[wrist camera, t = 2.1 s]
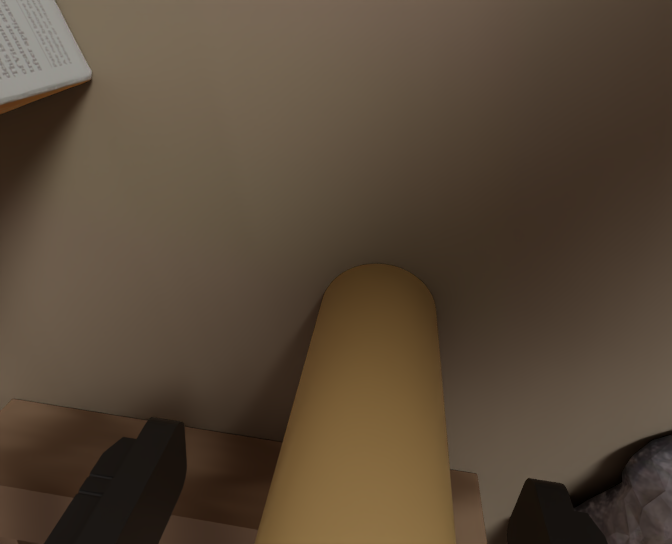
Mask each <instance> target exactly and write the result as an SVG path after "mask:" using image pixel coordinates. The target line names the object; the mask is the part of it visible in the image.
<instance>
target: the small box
mask: <svg viewBox="0 0 672 544" xmlns="http://www.w3.org/2000/svg"><path fill="white" fill-rule="evenodd" d="M91 75H92V71H91V69H90V68H89V66H88V64H87V62H86V60H85V58H84V56H83V54H82V52H81V50H80V48H79V47H78V45H77V43H76V41H75V39H74V37H73V35H72V33H71V31H70V29H69V27H68V25H67V23H66V21H65V19H64V17H63V15H62V13H61V11H60V9H59V8H58V6H57V4H56V2H55V0H0V114H3V113H5V112H8V111H11V110H13V109H16V108H18V107H21V106H23V105H26V104H28V103H31V102H34V101H36V100H39V99H42V98H44V97H47V96H50V95H52V94H55V93H58V92H61V91H63V90H66V89H69V88H71V87H74V86H77V85H80V84H83V83H85V82H87V81H89V80H91V78H92V77H91Z"/></svg>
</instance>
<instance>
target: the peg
mask: <svg viewBox="0 0 672 544" xmlns="http://www.w3.org/2000/svg"><path fill="white" fill-rule="evenodd" d="M254 544H456V536H455V524H454V513H453V501H452V489H451V478H450V466H449V455H448V443H447V431H446V420H445V408H444V396H443V385H442V373H441V362H440V350H439V338H438V327H437V315H436V307H435V302H434V299H433V297H432V295H431V293H430V291H429V290H428V288H427V287H426V285H425V284H424V283H423V282H422V281H421V280H420V279H418V278H417V277H416V276H415V275H413V274H412V273H410V272H408V271H406V270H404V269H402V268H399V267H396V266H392V265H387V264H365V265H360V266H357V267H354V268H351V269H349V270H347V271H345V272H343V273H342V274H340V275H339V276H338V277H336V278H335V279H334V280H333V281H332V282H331V284H330V285H329V286H328V288H327V289H326V291H325V293H324V296H323V299H322V302H321V306H320V309H319V313H318V317H317V320H316V324H315V327H314V331H313V335H312V338H311V342H310V345H309V349H308V353H307V356H306V360H305V363H304V367H303V371H302V374H301V378H300V381H299V385H298V389H297V392H296V396H295V399H294V403H293V407H292V410H291V414H290V417H289V421H288V425H287V428H286V432H285V435H284V439H283V443H282V446H281V450H280V453H279V457H278V461H277V464H276V468H275V471H274V475H273V478H272V482H271V486H270V489H269V493H268V496H267V500H266V504H265V507H264V511H263V514H262V518H261V522H260V525H259V529H258V532H257V536H256V540H255V543H254Z"/></svg>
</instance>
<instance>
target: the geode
mask: <svg viewBox="0 0 672 544" xmlns="http://www.w3.org/2000/svg"><path fill="white" fill-rule="evenodd" d="M573 509H574V511H578V512H584V513H588V514H589V516H590V517H591V518H592V520H593V521H594V522H595V524H596V525H597V526H598V528H599V529H600V530H601V532H602V533H603V534H604V535H605V537H606V540H607V543H608V544H672V435H669V436H666V437H662V438H659V439H655V440H652V441H651V442H649V443H648V444H647V445H645V446H644V447H643V448H642V449H640V450H639V451H638V452H636V453H635V454H634V455H633V456H632V457H631V459H630V460H629V462H628V463H627V465H626V466H625V468H624V470H623V471H622V483H620V484H618V485H616V486H614V487H612V488H611V489H609V490H607V491H605V492H603V493H601V494H599V495H597V496H595V497H593V498H591V499H589V500H587V501H585V502H584V503H582V504H580V505H579V506H577V507H575V508H573Z"/></svg>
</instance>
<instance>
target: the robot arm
mask: <svg viewBox="0 0 672 544" xmlns="http://www.w3.org/2000/svg"><path fill="white" fill-rule="evenodd" d="M186 472H187V458H186V441H185V427H184V423H183V422H180V421H173V420H167V419H161V418H154V417H151V418H150V419H149V420H148V421H147V422H146V424H145V425H144V427H143V429H142V430H141V432H140V434H139V435H138V437H137V439H134V438H128V437H122V438H121V439H120V440H118V441H117V442H116V443H115V444H113V445H112V446H111V447H110V448H108V449H107V450H106V451H105V452H103V454H102V455H101V457H100V458H99V460H98V461H97V463H96V464H95V466H94V467H93V469H92V470H91V472H90V475H89V477H87V478H86V480H85V481H84V483H83V484H82V486H81V487H80V489H79V492H78V494H76V495H75V497H74V498H73V500H72V501H71V503H70V504H69V506H68V507H67V509H66V510H65V512H64V513H63V515H62V516H61V518H60V520H59V521H58V523H57V524H56V526H55V527H54V529H53V530H52V532H51V533H50V535H49V536H48V538H47V539H46V541H45V543H44V544H159V541H160V539H161V537H162V535H163V532H164V530H165V528H166V526H167V523H168V521H169V519H170V517H171V514H172V512H173V510H174V508H175V505H176V503H177V501H178V499H179V496H180V494H181V492H182V489H183V486H184V482H185V478H186ZM507 541H508V544H608V543H607V540H606V537H605V535H604V534H603V533H602V532H601V530H600V529H599V528H598V526H597V525H596V524H595V522H594V521H593V520H592V518H591V517H590V516H589V514H588V513H584V512H578V511H574V509H573V506H572V503H571V500H570V497H569V494H568V491H567V489H566V487H565V486H564V485H563V484H561V483H556V482H549V481H543V480H537V479H531V478H528V479H527V480H526V481H525V483H524V485H523V488H522V490H521V493H520V495H519V498H518V500H517V503H516V505H515V507H514V510H513V512H512V515H511V517H510V520H509V524H508V533H507Z"/></svg>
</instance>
